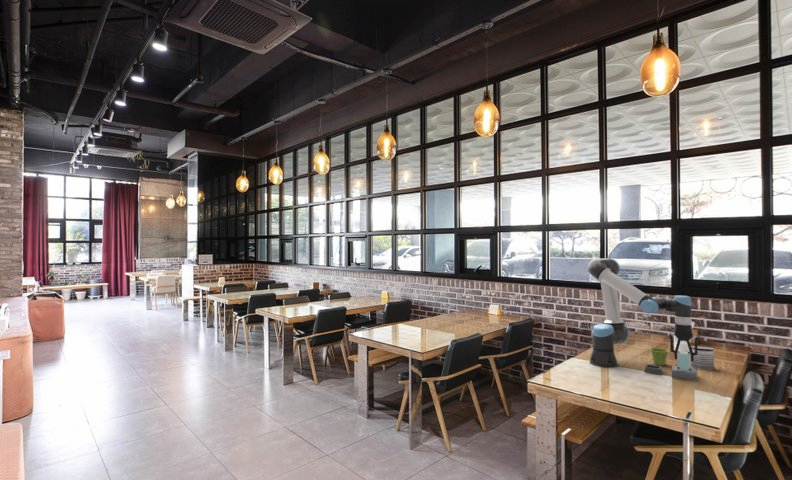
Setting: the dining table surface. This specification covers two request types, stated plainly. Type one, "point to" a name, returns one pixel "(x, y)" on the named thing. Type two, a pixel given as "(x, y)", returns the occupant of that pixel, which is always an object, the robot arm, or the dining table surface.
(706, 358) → the can
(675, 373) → the port block
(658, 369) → the holster
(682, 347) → the cylinder with rectangular tab
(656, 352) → the plant pot
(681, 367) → the plug
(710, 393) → the dining table surface
